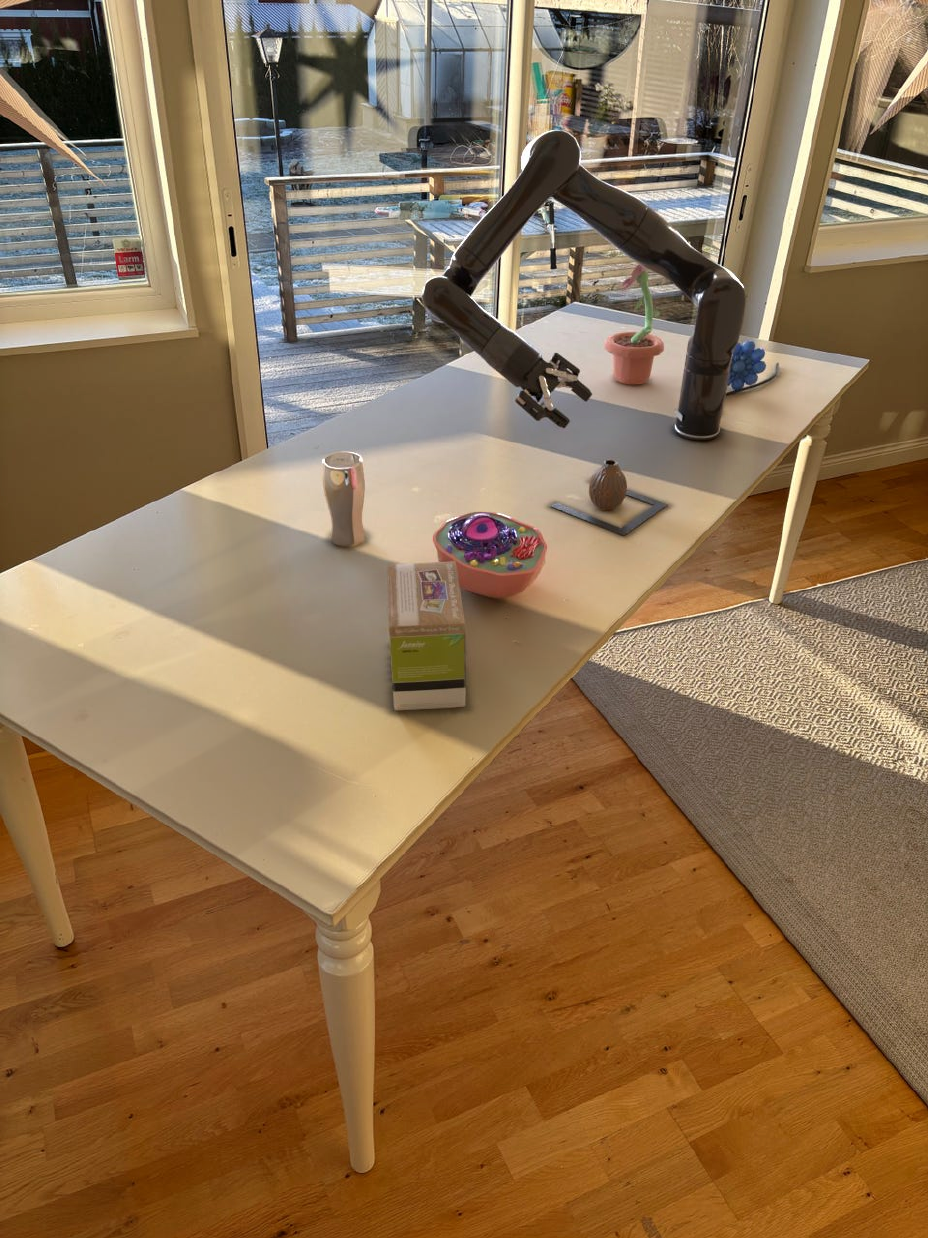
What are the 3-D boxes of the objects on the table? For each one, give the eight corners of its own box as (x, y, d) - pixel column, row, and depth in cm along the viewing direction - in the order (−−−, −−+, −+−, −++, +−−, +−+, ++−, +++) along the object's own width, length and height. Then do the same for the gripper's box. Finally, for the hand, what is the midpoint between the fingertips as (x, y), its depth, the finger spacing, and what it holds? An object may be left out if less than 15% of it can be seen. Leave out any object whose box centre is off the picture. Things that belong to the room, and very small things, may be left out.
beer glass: (374, 531, 164) (370, 454, 155) (358, 551, 158) (352, 472, 150) (338, 525, 166) (332, 448, 157) (321, 544, 160) (313, 465, 152)
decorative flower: (620, 363, 232) (634, 237, 214) (671, 375, 225) (689, 246, 208) (591, 381, 222) (603, 250, 204) (643, 394, 216) (660, 261, 198)
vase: (623, 516, 169) (628, 472, 164) (585, 512, 170) (589, 468, 165) (625, 498, 175) (631, 455, 170) (589, 494, 176) (593, 452, 171)
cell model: (472, 631, 140) (474, 568, 134) (416, 567, 154) (415, 507, 148) (567, 602, 147) (573, 541, 140) (505, 544, 161) (507, 485, 154)
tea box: (390, 645, 137) (386, 560, 129) (458, 642, 138) (458, 558, 129) (392, 713, 125) (388, 624, 116) (466, 709, 126) (468, 621, 117)
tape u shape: (595, 478, 181) (596, 478, 181) (667, 505, 173) (667, 504, 173) (550, 507, 172) (550, 506, 172) (623, 536, 163) (624, 535, 163)
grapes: (763, 388, 220) (774, 337, 212) (758, 398, 215) (768, 347, 208) (714, 379, 223) (723, 330, 216) (708, 389, 219) (716, 339, 212)
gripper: (498, 365, 165) (568, 422, 166) (537, 322, 172) (605, 377, 173) (483, 389, 172) (551, 444, 172) (522, 347, 179) (588, 400, 179)
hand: (578, 411), depth 172 cm, fingers open, 8 cm apart
